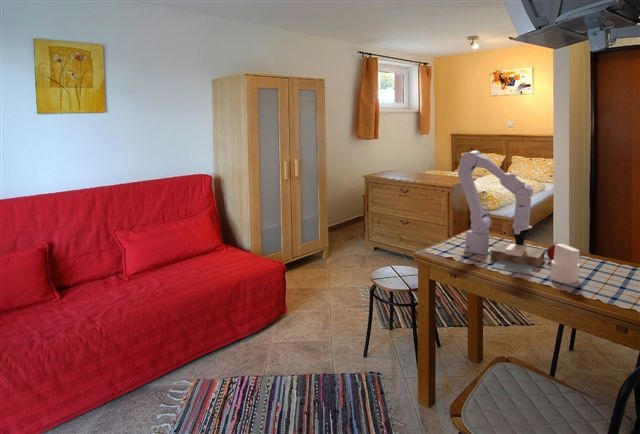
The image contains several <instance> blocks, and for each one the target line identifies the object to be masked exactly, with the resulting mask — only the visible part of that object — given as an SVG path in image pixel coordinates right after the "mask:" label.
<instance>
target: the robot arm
mask: <svg viewBox="0 0 640 434" xmlns="http://www.w3.org/2000/svg"><path fill="white" fill-rule="evenodd" d="M458 161H459V166H458V171H457V176H458V179H459V182H460V185H461V188H462V190H463V194H464V196H465V199H466V202H467V205H468V208H469V211H470V222H471V224H470V230H467V232H466V234H465V241H464V243H465V245H464V252H467V253H470V254H471V253H472V254H478V255H484V256H487V255H488V254H489V253H491V250H492V249H490V247H489V246H490V233H491V232H490V228H491V226H492V224H493V222H492V221H493V220H492V218H491V217H490V216H489V215H488V213H487V211H486V210H485V209H484V207H483V204H482V201H481V199H480V196H479V192H478V190H477V187H476V184H475V182H474V179H473V175H472V174H473V172H474V171H475V169H476V168H481V169H482V168H483V169H485V170H486V171H488V172H489V173H491V174H492V175H493V176H495V177H496V178H497V179H499V181H500V185H501V186H503V187H504V188H505V189H506V190H508V191H509V192H510V193H511V194H513V195H514V198H515V206H514V217H513V224H512V228H513V229H512V235H513V236H514V240H515V244H517V245H524V244H525V240H526V237H527V235H528V234H529V232H530V229H532V228H533V226H531V225H530V218H531V217H530V216H531V206H532V204H531V203H532V196H533V194H534V190H533V188H532V187H531V185H530V184H526V183H525V181H522V180H520V179H519V178H517V175H516V174H515V173H513V174H512V173H511V172H508V173H506V172H505V171H504V170H503V169H501V167H499V166H498V165H497V164H496V163H495V162H493V161H492V160H491V159H490V158H489V157H488V156H486V154H485V153H482V152H481V151H479V150H476V149H475V150H470V151H467V152H464V153H463V154H462V156H461V157H460V158H459V160H458Z"/></svg>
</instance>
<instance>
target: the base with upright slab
mask: <svg viewBox="0 0 640 434" xmlns="http://www.w3.org/2000/svg"><path fill="white" fill-rule="evenodd" d="M554 244H555V243H554ZM580 252H581V251H580V250H579V249H577V248H575V247H573V246H571V245H566V244H564V243H558V244H555V250H554V260H551V262H550V273H549V278H550V279H551V280H552V281H555V282H558V283H563V284H575V283H578V280H579V273H580V272H579V271H580V263H579V262H580V261H579V258H580Z"/></svg>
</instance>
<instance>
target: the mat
mask: <svg viewBox="0 0 640 434" xmlns="http://www.w3.org/2000/svg"><path fill="white" fill-rule="evenodd" d="M490 268H491V269H496V270H502V271H507V272H512V273H517V274H521V275H527V276H528V275H529V276H530V275H531V273H532V272H533V270H534V269H535V268H536V267H535V266H530V265H524V264H518V263H512V262H507V261H501V260H498V261H497V260H496V261H495V262H494V264H493V265H491V266H490Z"/></svg>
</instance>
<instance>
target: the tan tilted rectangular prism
mask: <svg viewBox="0 0 640 434" xmlns="http://www.w3.org/2000/svg"><path fill="white" fill-rule="evenodd" d="M526 247H528V246H527V245H524V244H523V245H517V244H516V243H510V244H509V246H508V247H507V248H506V249H505V254H508V255H514V256H522V255H523V254H524V253H525V251H526Z"/></svg>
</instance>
